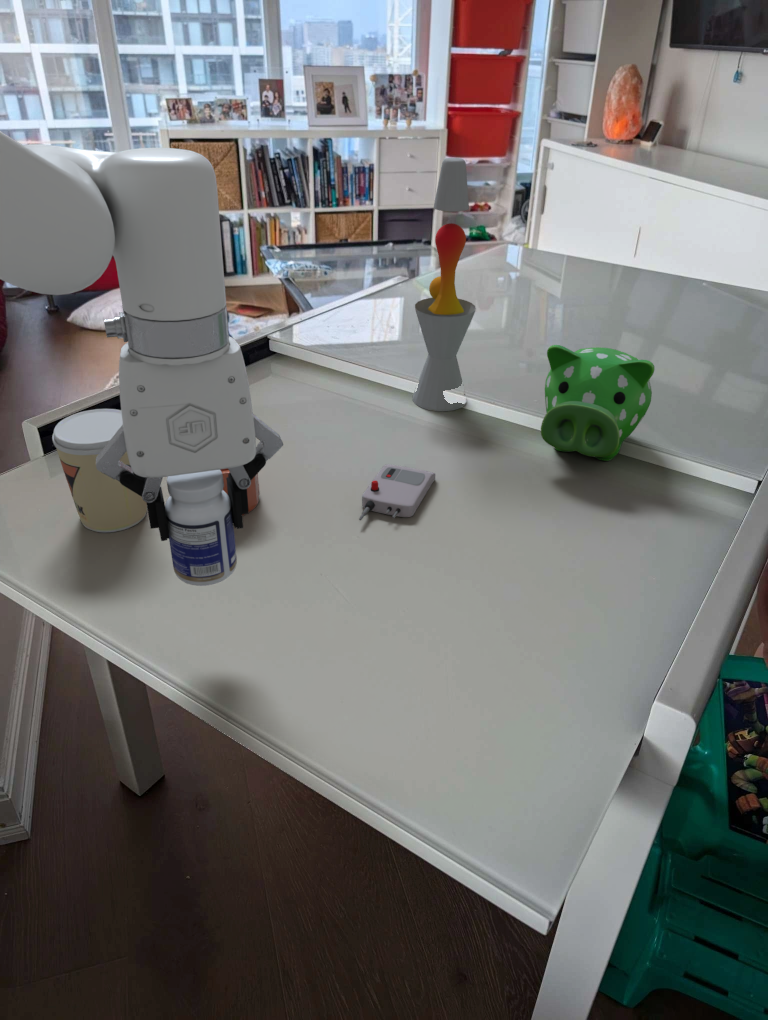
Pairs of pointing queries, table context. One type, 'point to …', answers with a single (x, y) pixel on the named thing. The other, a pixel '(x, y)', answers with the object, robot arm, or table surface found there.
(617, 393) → the piggy bank
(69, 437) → the coffee cup
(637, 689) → the table surface
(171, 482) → the pill bottle
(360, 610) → the table surface
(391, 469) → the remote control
